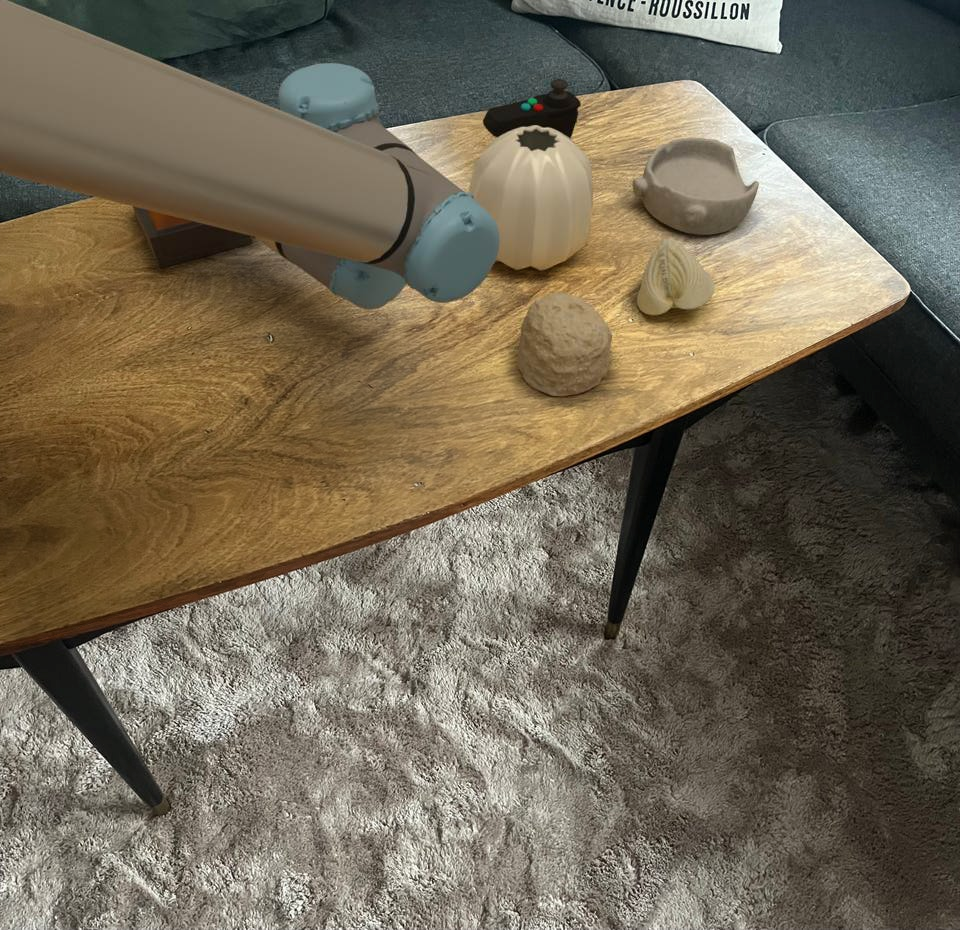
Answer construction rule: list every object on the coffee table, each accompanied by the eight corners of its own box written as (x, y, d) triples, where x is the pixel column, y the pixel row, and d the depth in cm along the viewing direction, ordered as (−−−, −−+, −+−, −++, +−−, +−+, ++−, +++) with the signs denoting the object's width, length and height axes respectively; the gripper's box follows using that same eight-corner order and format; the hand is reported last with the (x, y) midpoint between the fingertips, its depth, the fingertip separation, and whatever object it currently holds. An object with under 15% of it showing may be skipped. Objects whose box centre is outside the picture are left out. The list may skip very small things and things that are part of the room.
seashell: (627, 311, 85) (625, 237, 86) (646, 334, 93) (643, 266, 94) (709, 299, 82) (705, 223, 83) (720, 325, 89) (717, 254, 91)
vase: (525, 302, 89) (535, 192, 78) (442, 241, 95) (442, 131, 85) (613, 252, 95) (633, 143, 84) (529, 197, 101) (538, 90, 91)
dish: (699, 162, 107) (708, 125, 103) (774, 217, 100) (788, 180, 96) (609, 193, 102) (616, 155, 98) (682, 254, 95) (692, 216, 91)
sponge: (570, 361, 89) (532, 278, 85) (643, 355, 82) (606, 264, 78) (521, 411, 84) (478, 326, 80) (595, 409, 77) (552, 316, 73)
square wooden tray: (159, 268, 91) (149, 238, 88) (136, 217, 96) (125, 187, 93) (252, 243, 94) (245, 212, 91) (224, 195, 100) (217, 164, 97)
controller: (578, 162, 106) (588, 86, 98) (492, 184, 103) (496, 107, 95) (562, 146, 109) (570, 70, 101) (477, 167, 105) (479, 90, 97)
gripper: (199, 285, 77) (66, 186, 86) (358, 196, 86) (223, 116, 96) (178, 216, 71) (38, 117, 80) (351, 129, 81) (208, 50, 90)
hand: (139, 116), depth 88 cm, fingers closed on soda can, 7 cm apart
